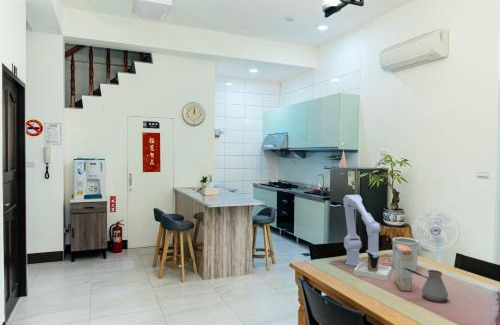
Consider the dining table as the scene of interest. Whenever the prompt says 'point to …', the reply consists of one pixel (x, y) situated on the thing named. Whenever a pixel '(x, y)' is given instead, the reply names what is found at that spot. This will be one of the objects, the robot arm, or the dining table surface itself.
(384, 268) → the tray
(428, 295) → the coffee pot
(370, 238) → the robot arm
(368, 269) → the walnut block
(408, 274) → the cracker box
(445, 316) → the dining table surface
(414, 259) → the utensil holder
